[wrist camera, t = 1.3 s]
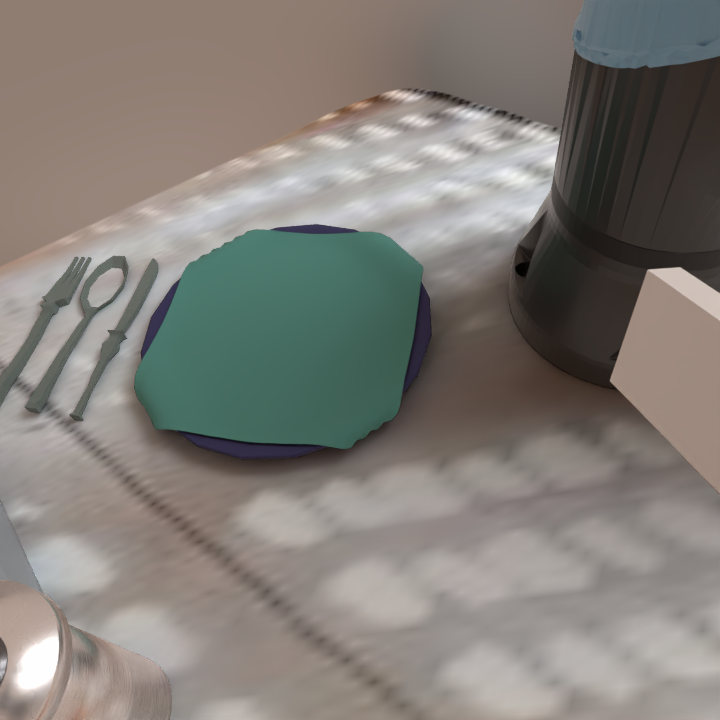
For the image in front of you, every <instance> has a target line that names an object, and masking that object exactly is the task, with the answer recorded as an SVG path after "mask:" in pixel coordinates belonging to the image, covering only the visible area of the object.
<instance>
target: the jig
mask: <svg viewBox="0 0 720 720" xmlns="http://www.w3.org/2000/svg"><path fill="white" fill-rule="evenodd" d="M0 580H10V581H16V582H19V583H22V584H25V585H27V586H29V587H31V588H33V589H35V590H37V591H39V592H41V593H43V592H42V590H41V588H40V586H39V584H38V581H37V579H36V577H35V575H34V573H33V571H32V568H31V566H30V564H29V562H28V560H27V557H26V555H25V553H24V551H23V549H22V546H21V544H20V542H19V540H18V538H17V536H16V533H15V531H14V529H13V527H12V525H11V522H10V520H9V518H8V516H7V514H6V512H5V509H4V507H3V505H2V503H1V501H0Z"/></svg>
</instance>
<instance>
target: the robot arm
mask: <svg viewBox="0 0 720 720" xmlns="http://www.w3.org/2000/svg"><path fill="white" fill-rule="evenodd" d="M573 41H574V48H575V52H574V58H573V64H572V70H571V76H570V82H569V88H568V94H567V100H566V107H565V113H564V118H563V124H562V130H561V136H560V141H559V147H558V152H557V158H556V163H555V171H554V177H553V183H552V187H551V191H550V192H549V194H548V196H547V197H546V199H545V200H544V202H543V204H542V205H541V207H540V208H539V210H538V212H537V213H536V215H535V217H534V218H533V220H532V221H531V223H530V225H529V226H528V228H527V230H526V231H525V233H524V234H523V236H522V238H521V239H520V241H519V243H518V245H517V247H516V250H515V252H514V255H513V259H512V263H511V270H510V278H509V286H508V299H509V305H510V309H511V313H512V316H513V318H514V320H515V323H516V325H517V326H518V328H519V330H520V332H521V333H522V335H523V336H524V337H525V339H526V340H527V341H528V342H529V343H530V345H531V346H532V347H533V348H534V349H535V350H536V351H537V352H538V353H540V354H541V355H542V356H543V357H544V358H546V359H547V360H548V361H550V362H551V363H552V364H554V365H555V366H557V367H559V368H560V369H562V370H564V371H566V372H568V373H569V374H571V375H574V376H576V377H578V378H580V379H583V380H585V381H588V382H591V383H594V384H597V385H601V386H605V387H609V388H614V389H618V390H619V391H620V392H621V393H622V394H623V395H624V396H625V397H626V398H627V399H628V400H629V401H630V402H631V403H632V404H633V405H634V406H635V407H636V408H637V409H638V410H639V412H640V413H641V414H642V415H643V416H644V417H645V418H646V419H647V420H648V421H649V422H650V423H651V424H652V425H653V426H654V427H655V428H656V429H657V430H658V431H659V432H660V433H661V434H662V435H663V436H664V437H665V438H666V439H667V440H668V441H669V442H670V443H671V444H672V445H673V446H674V447H675V448H676V449H677V451H678V452H679V453H680V454H681V455H682V456H683V457H684V458H685V459H686V460H687V461H688V462H689V463H690V464H691V465H692V466H693V467H694V468H695V469H696V470H697V471H698V472H699V473H700V474H701V475H702V476H703V477H704V478H705V479H706V480H707V481H708V482H709V483H710V484H711V485H712V486H713V487H714V489H715V490H716V491H717V492H718V493H719V494H720V0H584V2H583V6H582V10H581V12H580V13H579V15H578V17H577V19H576V22H575V25H574V30H573Z"/></svg>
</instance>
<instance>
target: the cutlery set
mask: <svg viewBox="0 0 720 720" xmlns="http://www.w3.org/2000/svg"><path fill="white" fill-rule="evenodd" d="M77 260H78V257H75V258H74V260H73V262H72V263H71V265H70V266H69V268H68V269H67V271H66V272H65V273H64V274H63V276H62V277H61V278H60V279H59V280H58V281H57V283H56V284H55V285H54V286H53V288H52V289H51V290H50V292H49V293H48V294H47V295H46V296H43V297H42V298H43V299H44V300H45V303H43V304H41V305H40V306H41V307H42V309H43V311H42V313H41V314H40V316H39V318H38V319H37V321H36V323H35V325H34V327H33V329H32V331H31V333H30V335H29V337H28V338H27V340H26V341H25V343H24V344H23V346H22V347H21V349H20V351H19V352H18V353H17V355H16V356H15V358H14V359H13V361H12V362H11V363H10V365H9V366H8V367H7V369H6V370H5V371H4V372H3V374H2V375H1V376H0V406H1V404H2V402H3V400H4V398H5V396H6V394H7V393H8V391H9V389H10V387H11V386H12V384H13V382H14V381H15V380H16V378H17V377H18V375H19V374H20V372H21V371H22V370H23V368H24V366H25V365H26V363H27V361H28V360H29V358H30V356H31V355H32V353H33V351H34V350H35V348H36V346H37V344H38V343H39V341H40V339H41V337H42V335H43V333H44V331H45V328H46V326H47V324H48V323H49V321H50V319H51V317H52V315H53V314H57V313H58V309H59V308H60V307H62V306H65V305H68V304H69V303H70V301H71V299H72V297H73V294H74V293H75V291H76V289H77V287H78V285H79V283H80V281H81V279H82V277H83V275H84V273H85V271H86V269H87V267H88V265H89V263H90V261H91V257H88V259H87V260H86V262H85V264H84V266H83V267H82V269H81V270H80V268H81V266H82V264H83V262H84V260H85V258H84V257H81V259H80V261H79V263H78V265H77V266H76V267H75V269H74V270H73V268H74V266H75V264H76V262H77ZM111 268H121V269H122V271H123V274H124V277H125V279H124V282H123V284H122V285H121V287H120V288H119V289H118V291H117V292H116V293H115V294H114V296H113V297H112V298H111V299H110V300H109V301H107V302H106V303H104V304H103V305H101V306H100V307H91V306H90V304H89V302H88V300H87V298H88V294H89V290H90V287H91V286H92V285H93V283H94V282H95V281H96V280H97V278H98V277H99V276H100V275H101V274H103V273H105V272H106V271H108V270H109V269H111ZM72 270H73V272H72ZM79 270H80V271H79ZM78 271H79V273H78ZM71 272H72V273H71ZM77 273H78V274H77ZM127 273H128V264H127V261H126V258H125V256H112V257H111V258H109V259H108V260H107V261H105V262H104V263H102V264H101V265H99V266H98V267H97V268H96V269H95V271H94V272H93V273H92V274H91V275H90V277H89V278H88V279H87V280H86V282H85V284H84V287H83V290H82V293H81V296H80V300H81V303H82V306H83V310H84V312H85V314H86V315H85V317H84V318H83V319H82V321H81V322H80V323H79V325H78V326H77V328H76V329H75V331H74V332H73V334H72V335H71V337H70V338H69V340H68V341H67V342H66V344H65V345H64V346H63V348H62V349H61V351H60V352H59V353H58V355H57V356H56V358H55V360H54V361H53V363H52V365H51V366H50V368H49V369H48V371H47V373H46V374H45V376H44V377H43V379H42V381H41V382H40V384H39V385H38V387H37V389H36V390H35V392H34V393H33V395H32V396H31V398H30V400H29V401H28V403H27V404H26V406H25V408H26V409H27V410H28V411H30V412H37V413H41V411H42V408H43V406H44V404H45V403H46V400H47V398H48V396H49V394H50V392H51V390H52V388H53V386H54V384H55V382H56V380H57V378H58V376H59V374H60V372H61V370H62V369H63V367H64V365H65V363H66V361H67V359H68V357H69V355H70V354H71V352H72V350H73V349H74V347H75V345H76V344H77V342H78V340H79V339H80V337H81V335H82V333H83V331H84V330H85V328H86V326H87V325H88V323H89V322H90V320H91V318H92V317H93V316H94V315H95V314H96V313H97V311H98V310H100V309H101V308H103V307H104V306H106V305H108V304H109V303H111V302H112V301H113V300H114V299H115V298H116V297H117V295H118V294H119V293H120V292H121V290H122V289H123V288H124V284H125V281H126V277H127ZM157 273H158V264H157V262H156V260H155V259H152V260H151V262H150V264H149V266H148V268H147V270H146V272H145V274H144V276H143V278H142V280H141V282H140V284H139V285H138V287H137V289H136V291H135V293H134V295H133V297H132V299H131V301H130V303H129V305H128V307H127V309H126V311H125V313H124V315H123V317H122V318H121V320H120V322H119V324H118V326H117V328H116V330H108V332H109V333H110V337H109V339H108V340H107V341H105V342H104V343H102V349H101V357H100V360H99V362H98V364H97V366H96V368H95V370H94V372H93V375H92V377H91V380H90V382H89V385H88V387H87V389H86V391H85V393H84V395H83V396H82V398H81V400H80V402H79V403H78V405H77V407H76V409H75V411H74V412H73V413H72V414H69V415H70V416H71V417H72V418H73V419H74V420H80V421H83V418H82V413H83V411H84V409H85V407H86V404H87V402H88V400H89V397H90V395H91V393H92V391H93V388H94V387H95V385H96V383H97V381H98V380H99V378H100V376H101V374H102V372H103V370H104V368H105V366H106V364H107V362H108V361H109V360H110V359H111V358H112V357H113V356H114V355H115V354H116V353H117V352H118V351H119V343H120V342H121V341H122V340H125V339H127V338H126V336H125V335H124V333H125V331H126V330H127V329H128V327H129V326H130V324H131V323H132V321H133V320H134V318H135V317H136V315H137V313H138V312H139V310H140V308H141V306H142V304H143V302H144V300H145V298H146V296H147V294H148V292H149V290H150V288H151V286H152V284H153V282H154V280H155V278H156V276H157ZM422 273H423V266H422V265H421V264H420V263H418V262H417V261H416V260H415V259H414V258H413V257H412V256H410V255H409V254H408V253H407V252H406V251H405V250H404V249H402V248H401V247H400V246H399V245H398V244H397V243H396V242H394V241H393V240H392V239H391V238H390V237H387V236H385V235H383V234H381V233H375V232H359V231H356V230H353V229H346V228H339V227H332V226H325V225H318V224H314V225H302V226H291V227H279V228H274V229H271V230H251V231H247V232H246V233H245V234H244V235H241V236H238V237H235V239H234V240H233V241H231V242H227V243H224V244H223V245H222V247H220V248H217V249H213V250H212V251H211V252H210V253H209V254H206V255H202V256H201V257H200V258H199V259H198V260H196V261H193V262H190V263H189V265H188V266H187V267H186V268H185V270H184V272H183V274H182V277H181V278H180V279H179V280H178V281H177V282H176V283H175V284H174V285H173V286H172V287H171V289H170V290H169V292H168V293H167V295H166V296H165V298H164V299H163V300H162V302H161V303H160V305H159V306H158V308H157V309H156V311H155V312H154V314H153V315H152V317H151V320H150V323H149V327H148V330H147V333H146V337H145V340H144V344H143V347H142V350H141V359H142V361H141V363H140V365H139V367H138V370H137V372H136V375H135V385H134V388H135V392H136V395H137V398H138V399H139V401H140V402H141V403H142V405H143V406H144V407H145V409H146V411H147V413H148V414H149V416H150V418H151V421H152V423H153V426H154V428H155V429H157V430H158V429H170V430H176V431H177V432H179V433H180V434H181V435H183V436H184V437H185V438H187V439H188V440H189V441H191V442H192V443H193V444H195V445H196V446H198V447H200V448H203V449H207V450H211V451H214V452H218V453H221V454H225V455H229V456H232V457H236V458H239V459H243V460H247V459H274V458H295V457H298V456H302V455H305V454H308V453H311V452H314V451H317V450H320V449H323V448H326V447H334V448H340V449H348V448H351V447H352V446H353V445H354V443H355V442H356V441H357V440H360V439H364V438H365V437H366V436H367V435H368V433H369V432H370V431H371V430H376V429H379V428H380V426H381V425H382V424H383V423H384V422H387V421H392V420H393V418H394V417H395V416H396V414H397V413H398V411H399V407H400V403H401V397H402V394H403V393H404V392H405V391H406V389H407V388H408V387H409V386H410V385H411V383H412V382H413V381H414V380H415V378H416V377H417V376H418V373H419V370H420V367H421V364H422V361H423V359H424V356H425V353H426V350H427V347H428V344H429V342H430V339H431V335H432V334H431V315H430V298H429V296H428V294H427V292H426V290H425V288H424V286H423V284H422V282H421V279H422Z"/></svg>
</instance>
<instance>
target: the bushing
mask: <svg viewBox="0 0 720 720" xmlns="http://www.w3.org/2000/svg"><path fill="white" fill-rule="evenodd" d="M171 708H172V694H171V688H170V684H169V681H168V679H167V677H166V675H165V673H164V672H163V670H162V669H161V668H160V667H159V666H158V665H157V664H156V663H154V662H153V661H151V660H149V659H147V658H144V657H142V656H140V655H138V654H135V653H133V652H131V651H128V650H126V649H124V648H121V647H119V646H117V645H114V644H112V643H110V642H108V641H105V640H103V639H101V638H98V637H96V636H94V635H91V634H89V633H87V632H84V631H82V630H80V629H78V628H75V627H73V626H71V625H68V622H67V619H66V617H65V615H64V614H63V612H62V610H61V609H60V607H59V606H58V605H57V604H56V603H55V602H54V601H53V600H52V599H51V598H49V597H48V596H46V595H45V594H43V593H41V592H39V591H37V590H35V589H33V588H31V587H29V586H27V585H25V584H22V583H19V582H16V581H10V580H0V720H169V719H170V714H171Z"/></svg>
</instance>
